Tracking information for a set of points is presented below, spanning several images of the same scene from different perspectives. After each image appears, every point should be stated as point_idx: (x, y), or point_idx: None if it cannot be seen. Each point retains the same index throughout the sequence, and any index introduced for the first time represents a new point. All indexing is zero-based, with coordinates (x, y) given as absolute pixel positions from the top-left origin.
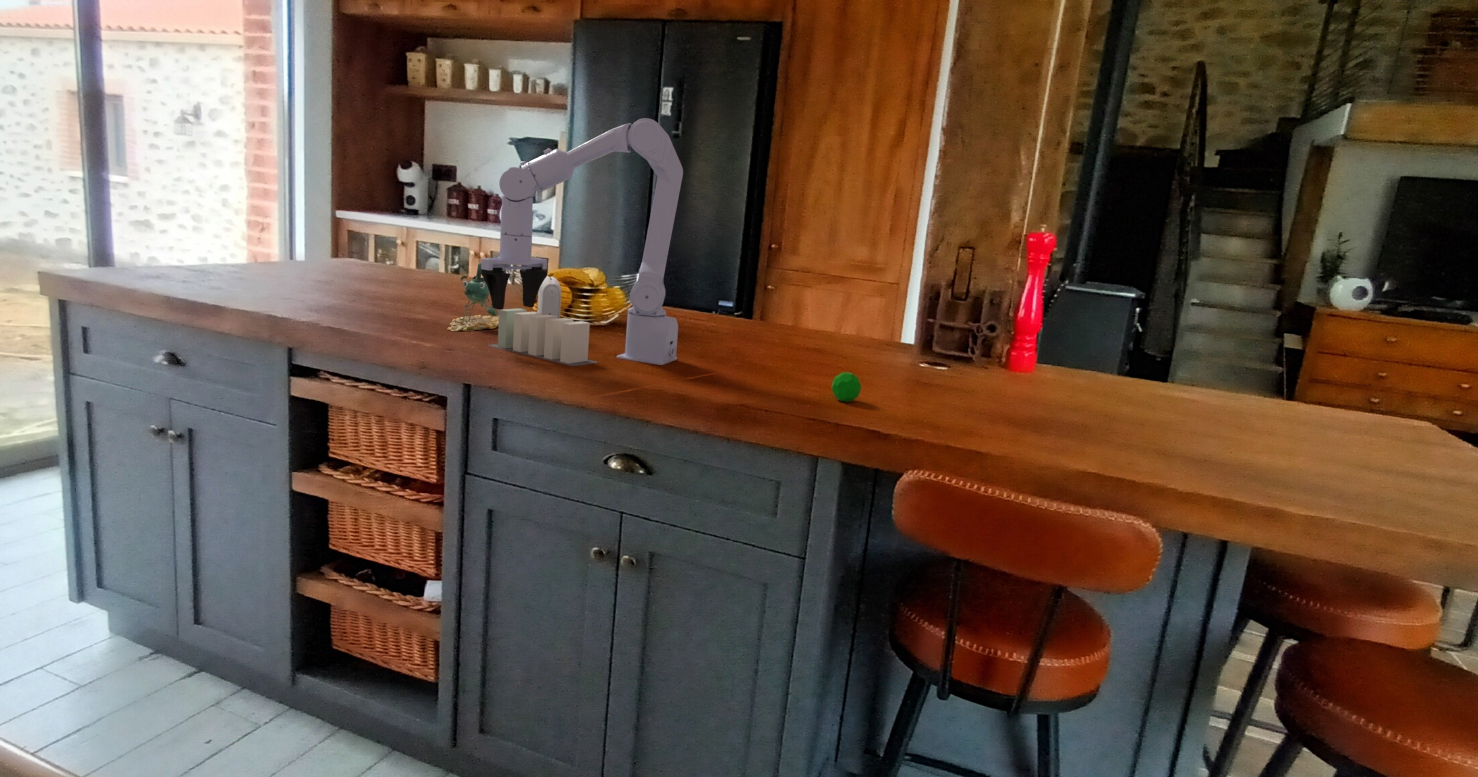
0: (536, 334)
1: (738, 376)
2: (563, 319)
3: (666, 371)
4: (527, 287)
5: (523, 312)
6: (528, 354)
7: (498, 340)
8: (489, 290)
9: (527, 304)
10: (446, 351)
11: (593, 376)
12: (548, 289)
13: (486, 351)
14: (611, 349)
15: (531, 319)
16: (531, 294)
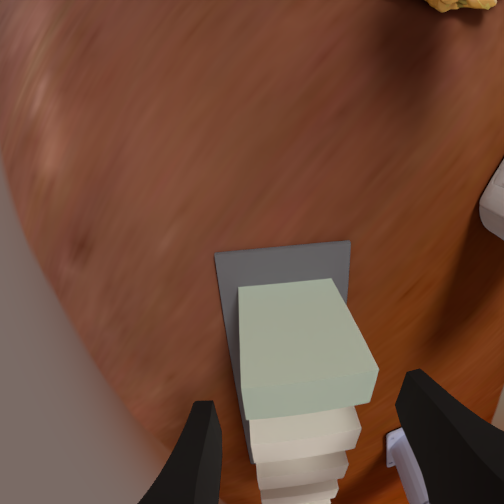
0: None
1: (397, 488)
2: (310, 499)
3: (359, 479)
4: (446, 455)
5: (298, 441)
6: None
7: (239, 300)
8: (161, 476)
9: (405, 397)
10: (62, 266)
11: (238, 485)
12: None
13: (172, 310)
14: (467, 365)
15: (257, 472)
16: (419, 448)
